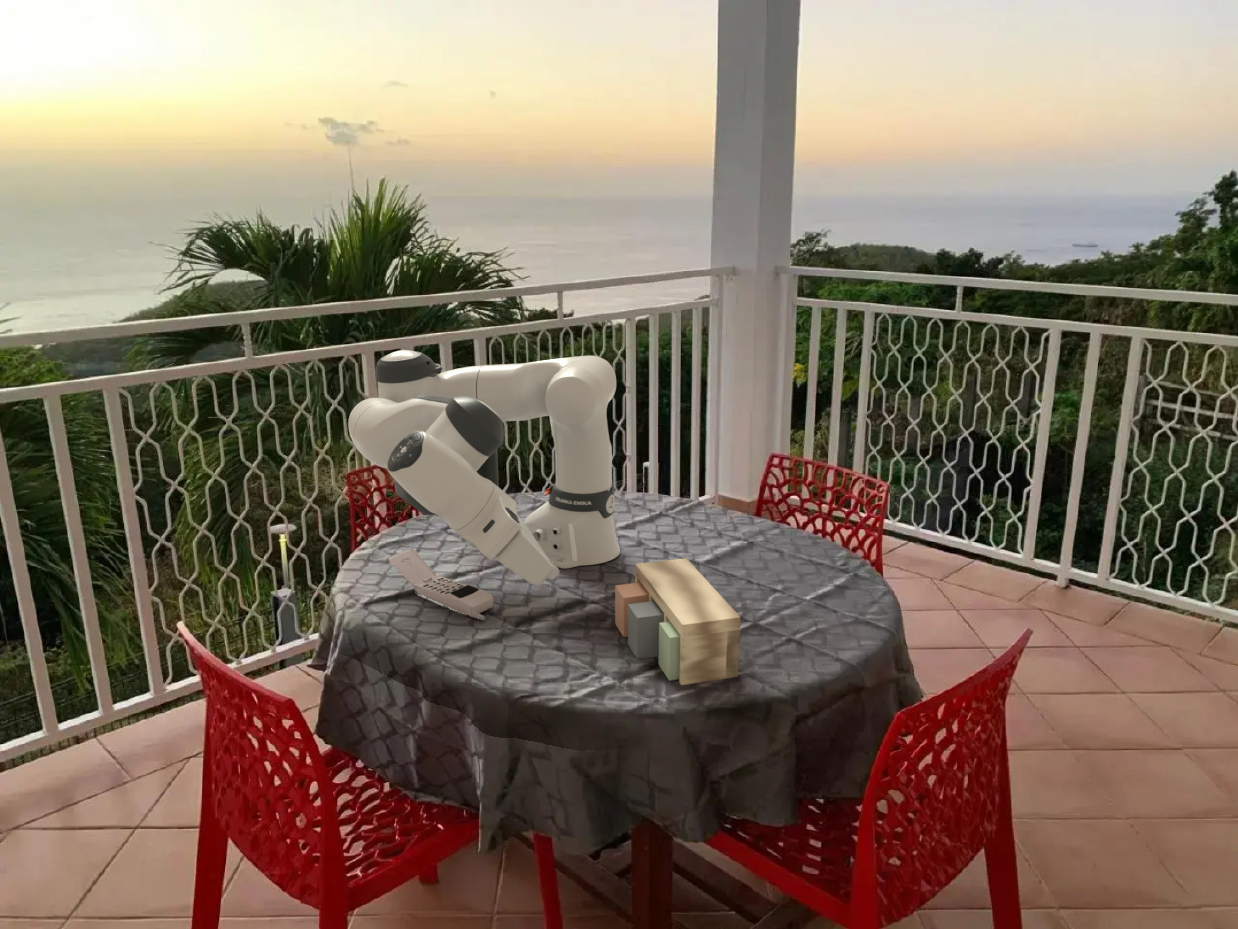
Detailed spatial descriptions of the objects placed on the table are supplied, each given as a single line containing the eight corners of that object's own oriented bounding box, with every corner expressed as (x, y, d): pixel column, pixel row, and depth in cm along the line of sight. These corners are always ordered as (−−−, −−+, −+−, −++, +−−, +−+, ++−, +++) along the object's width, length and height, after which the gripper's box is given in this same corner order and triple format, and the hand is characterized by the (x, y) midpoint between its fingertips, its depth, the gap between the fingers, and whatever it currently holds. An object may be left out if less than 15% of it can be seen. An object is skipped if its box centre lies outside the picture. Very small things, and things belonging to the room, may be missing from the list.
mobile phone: (411, 547, 170) (503, 581, 155) (413, 576, 172) (505, 612, 157) (384, 557, 166) (476, 593, 151) (387, 587, 168) (479, 625, 152)
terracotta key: (623, 637, 147) (623, 597, 145) (615, 623, 152) (615, 585, 150) (664, 631, 149) (664, 592, 147) (655, 618, 154) (655, 580, 152)
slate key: (637, 659, 140) (637, 618, 138) (627, 644, 145) (627, 604, 143) (679, 653, 142) (680, 612, 140) (669, 638, 147) (670, 599, 145)
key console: (681, 686, 133) (682, 624, 130) (635, 618, 154) (635, 563, 151) (738, 678, 135) (740, 617, 132) (685, 611, 157) (686, 558, 154)
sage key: (669, 680, 134) (669, 637, 132) (658, 664, 139) (659, 622, 137) (713, 674, 136) (714, 631, 134) (701, 658, 140) (702, 617, 138)
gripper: (462, 511, 140) (526, 563, 146) (484, 558, 122) (556, 615, 127) (489, 481, 141) (552, 534, 146) (516, 524, 122) (586, 582, 127)
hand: (554, 572), depth 137 cm, fingers closed
